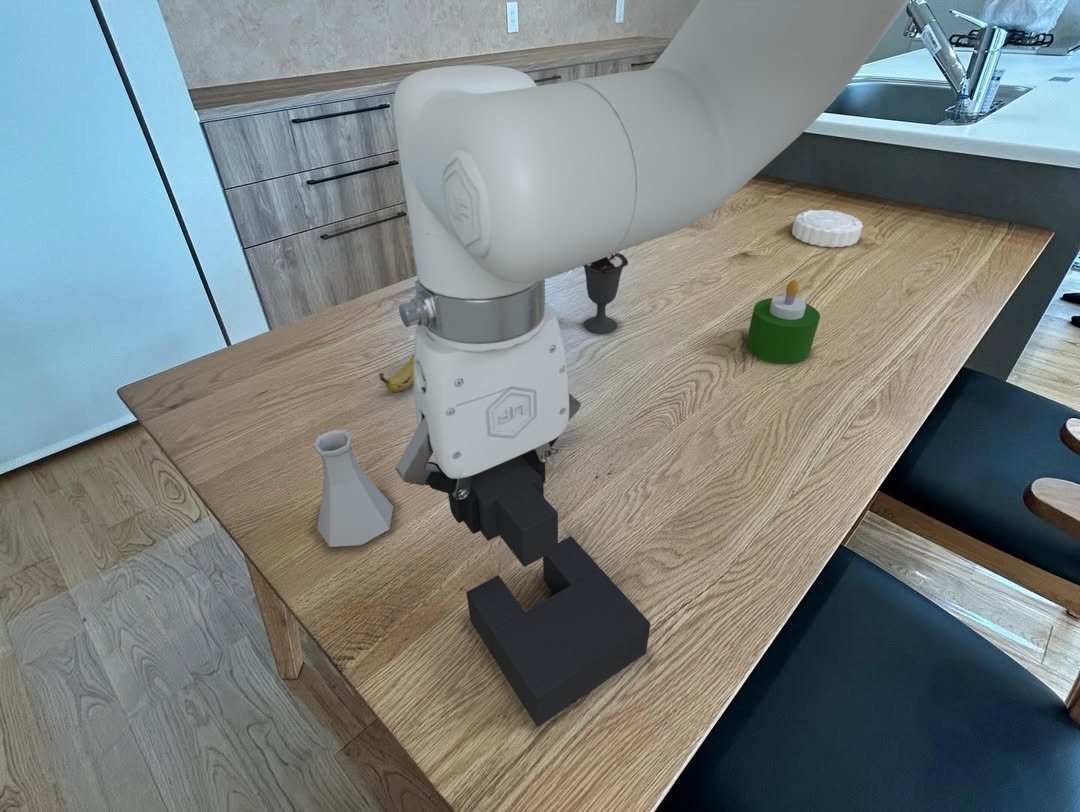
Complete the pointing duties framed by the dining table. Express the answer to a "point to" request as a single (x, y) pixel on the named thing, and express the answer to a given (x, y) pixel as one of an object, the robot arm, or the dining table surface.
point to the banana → (401, 378)
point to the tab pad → (516, 509)
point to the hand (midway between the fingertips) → (499, 504)
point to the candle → (782, 328)
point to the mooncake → (827, 228)
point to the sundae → (603, 289)
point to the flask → (348, 495)
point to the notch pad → (559, 632)
